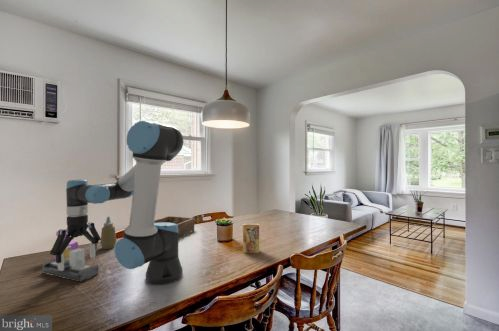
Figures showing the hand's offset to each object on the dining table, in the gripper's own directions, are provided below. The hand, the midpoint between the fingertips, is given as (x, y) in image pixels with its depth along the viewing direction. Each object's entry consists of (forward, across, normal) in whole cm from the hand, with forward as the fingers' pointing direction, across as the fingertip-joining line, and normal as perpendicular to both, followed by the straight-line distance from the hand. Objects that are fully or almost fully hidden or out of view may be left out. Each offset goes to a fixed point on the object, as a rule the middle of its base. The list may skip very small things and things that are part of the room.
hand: (77, 263), depth 105 cm
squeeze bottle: (+5, +30, +18) cm, 35 cm away
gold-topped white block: (+3, 0, -2) cm, 4 cm away
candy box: (+5, +52, -62) cm, 81 cm away
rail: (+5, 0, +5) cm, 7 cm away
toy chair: (+6, +12, +26) cm, 29 cm away
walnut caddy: (+5, +62, +2) cm, 62 cm away
